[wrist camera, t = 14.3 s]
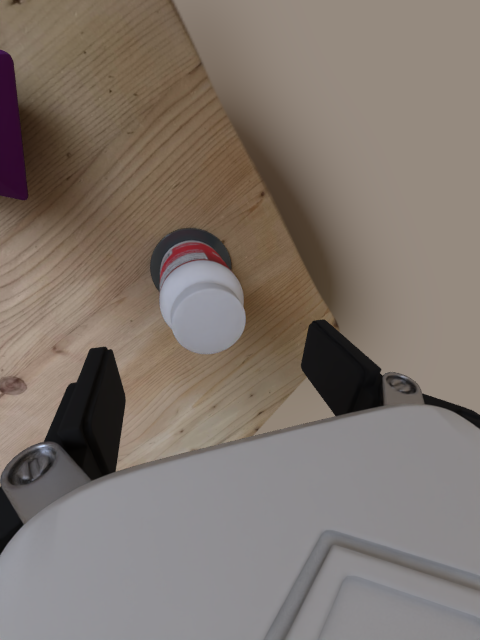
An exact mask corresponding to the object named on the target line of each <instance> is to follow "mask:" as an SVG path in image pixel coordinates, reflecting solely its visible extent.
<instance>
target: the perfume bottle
mask: <svg viewBox="0 0 480 640" xmlns="http://www.w3.org/2000/svg"><path fill="white" fill-rule="evenodd" d="M0 196H5V197H10V198H14V199H19V200H27V198H28V190H27V181H26V172H25V163H24V153H23V144H22V135H21V126H20V117H19V108H18V99H17V90H16V81H15V72H14V63H13V60H12V58H11V56H10V54H8V53H7V52H5V51H3V50H0Z"/></svg>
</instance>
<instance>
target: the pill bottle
mask: <svg viewBox="0 0 480 640" xmlns="http://www.w3.org/2000/svg"><path fill="white" fill-rule="evenodd" d="M159 304H160V310H161V313H162V316H163V318H164V320H165V322H166V323H167V325H168V326H169V327H170V328H171V329H172V330H173V334H174V336H175V338H176V339H177V341H178V342H179V343H180V344H181V345H182V346H183V347H184V348H186V349H187V350H189V351H192V352H194V353H199V354H214V353H218V352H221V351H223V350H226V349H227V348H229V347H230V346H232V345H233V344H234V343H235V342H236V341H237V340H238V339H239V338H240V336H241V334H242V332H243V330H244V327H245V323H246V315H245V310H244V308H243V304H244V296H243V290H242V287H241V285H240V282H239V281H238V279H237V278H236V276H235V275H234V273H233V272H232V271H231V270H230V268H229V267H228V266H227V265H226V263H225V262H224V261H223V260H222V258H221V257H220V256H219V254H218V253H217V252H216V251H215V250H214V249H213V248H212V247H210V246H209V245H207V244H205V243H203V242H200V241H184V242H181V243H178V244H176V245H174V246H173V247H172V248H170V249H169V250H168V252H167V253H166V254H165V256H164V258H163V260H162V263H161V267H160V295H159Z"/></svg>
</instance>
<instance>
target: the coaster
mask: <svg viewBox="0 0 480 640" xmlns="http://www.w3.org/2000/svg"><path fill="white" fill-rule="evenodd" d="M184 241H200V242H203V243H205V244H207V245H209V246H210V247H212V248H213V249H214V250H215V251H216V252H217V253H218V254H219V256H220V257H221V258H222V260H223V261H224V262H225V263H226V265H227V266H228V267H229V268H230V270H231V260H230V256H229V253H228V251H227V249H226V248H225V246H224V245H223V243H222V242H221V241H220V240H219V239H218V238H217V237H216V236H214V235H213V234H211V233H209V232H207V231H205V230H202V229H197V228H183V229H178V230H176V231H173V232H171V233H169V234H168V235H166V236H165V237H164V238H163V239H162V240H161V241H160V242H159V243H158V244H157V246H156V247H155V249H154V251H153V254H152V257H151V263H150V271H151V277H152V280H153V282H154V284H155V286H156V288H157V289H158V291H159V292H160V267H161V263H162V260H163V258H164V256H165V254H166V253H167V252H168V250H169V249H170V248H172V247H173V246H174V245H176V244H178V243H181V242H184Z"/></svg>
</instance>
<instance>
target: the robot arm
mask: <svg viewBox="0 0 480 640" xmlns="http://www.w3.org/2000/svg"><path fill="white" fill-rule="evenodd" d="M301 368H302V371H303V372H304V373H305V375H306V376H307V378H308V379H309V380H310V382H311V383H312V384H313V386H314V387H315V388H316V390H317V391H318V393H319V394H320V395H321V397H322V398H323V399H324V401H325V402H326V403H327V405H328V406H329V408H330V409H331V410H332V412H333V413H334V414H335V417H331V418H327V419H322V420H318V421H314V422H309V423H305V424H301V425H297V426H293V427H288V428H284V429H280V430H276V431H272V432H268V433H263V434H259V435H255V436H251V437H247V438H243V439H239V440H235V441H230V442H226V443H222V444H218V445H214V446H210V447H206V448H202V449H198V450H194V451H190V452H186V453H182V454H178V455H174V456H170V457H166V458H163V459H159V460H155V461H151V462H147V463H144V464H140V465H136V466H133V467H130V468H126V469H123V470H120V471H117V472H115V471H116V464H117V458H118V451H119V444H120V437H121V430H122V423H123V416H124V409H125V402H126V399H125V393H124V389H123V386H122V382H121V379H120V375H119V372H118V368H117V365H116V361H115V357H114V354H113V351H112V350H111V349H110V350H108V349H107V347H99V348H91V349H90V350H89V353H88V355H87V358H86V360H85V363H84V365H83V368H82V370H81V373H80V376H79V378H78V381H77V382H76V383H71V384H69V385H68V387H67V389H66V391H65V394H64V396H63V398H62V401H61V403H60V405H59V408H58V410H57V412H56V415H55V417H54V419H53V422H52V424H51V426H50V429H49V431H48V433H47V436H46V438H45V440H44V442H41V443H38V444H35V445H33V446H30V447H29V448H27V449H25V450H23V451H22V452H20V453H19V454H18V455H16V456H15V457H14V458H13V459H12V460H11V461H10V462H9V463H8V464H7V466H6V467H5V469H4V471H3V472H2V475H1V479H0V483H1V487H0V640H480V415H479V414H477V413H476V412H474V411H472V410H469V409H467V408H464V407H461V406H458V405H455V404H452V403H449V402H446V401H443V400H440V399H437V398H434V397H431V396H428V395H425V394H422V392H421V389H420V387H419V385H418V384H417V383H416V382H415V381H414V380H412V379H411V378H409V377H407V376H405V375H402V374H399V373H395V372H389V373H385V374H384V375H383V376H382V375H381V374H380V371H381V368H380V367H378V366H377V365H376V364H375V363H374V362H373V361H372V360H370V359H369V358H368V357H367V356H365V354H364V353H362V352H361V351H360V350H359V349H358V348H357V347H355V346H354V345H353V344H352V343H351V342H350V341H349V340H347V339H346V338H345V337H344V336H343V335H342V334H341V333H340V332H338V331H337V330H336V329H335V328H334V327H333V326H332V325H330V324H329V323H328V322H327V321H326V320H316V321H313V322H312V323H311V324H310V325H309V328H308V333H307V338H306V343H305V348H304V353H303V358H302V363H301Z"/></svg>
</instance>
